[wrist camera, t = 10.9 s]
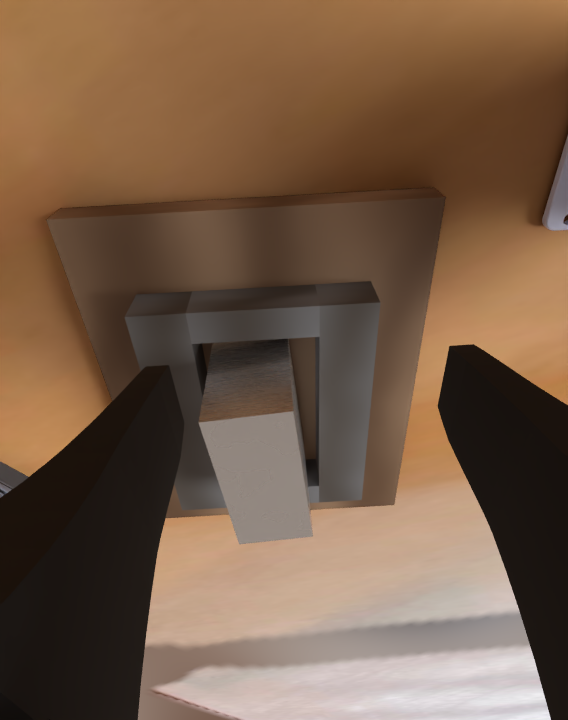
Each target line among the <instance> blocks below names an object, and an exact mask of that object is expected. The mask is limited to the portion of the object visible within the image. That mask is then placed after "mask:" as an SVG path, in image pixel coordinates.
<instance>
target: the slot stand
mask: <svg viewBox="0 0 568 720" xmlns="http://www.w3.org/2000/svg"><path fill="white" fill-rule="evenodd" d="M445 199H446V197H445V196H444V195H442V194H441V193H440V192H439V191H438V190H436V189H435V188H416V189H398V190H380V191H362V192H345V193H327V194H309V195H291V196H273V197H255V198H238V199H220V200H202V201H184V202H166V203H149V204H131V205H113V206H95V207H77V208H60V209H59V210H58V211H57V212H55V213H54V214H53V215H52V216H50V217H49V218H48V219H46V221H47V223H48V226H49V229H50V232H51V234H52V237H53V240H54V242H55V245H56V248H57V251H58V253H59V256H60V259H61V262H62V264H63V267H64V270H65V273H66V275H67V278H68V281H69V284H70V286H71V289H72V292H73V295H74V297H75V300H76V303H77V306H78V308H79V311H80V314H81V317H82V319H83V322H84V325H85V328H86V330H87V333H88V336H89V338H90V341H91V344H92V347H93V349H94V352H95V355H96V358H97V360H98V363H99V366H100V369H101V371H102V374H103V377H104V380H105V382H106V385H107V388H108V391H109V393H110V396H111V399H112V401H113V400H114V399H115V398H116V397H117V396H118V395H119V394H120V393H121V392H122V391H123V390H124V389H125V388H126V386H127V385H128V384H129V383H130V382H131V381H132V380H133V379H134V378H135V377H136V376H137V375H138V374H139V373H140V372H141V371H142V370H143V369H144V368H145V367H146V366H161V365H169V367H170V371H171V374H172V378H173V382H174V385H175V389H176V393H177V397H178V400H179V404H180V408H181V412H182V415H183V419H184V433H183V443H182V451H181V458H180V462H179V466H178V470H177V474H176V478H175V482H174V486H173V490H172V494H171V498H170V502H169V506H168V510H167V514H166V518H178V517H195V516H212V515H229V512H228V509H227V506H226V503H225V500H224V497H223V494H222V491H221V488H220V485H219V482H218V479H217V476H216V473H215V470H214V467H213V464H212V461H211V458H210V456H209V453H208V450H207V447H206V444H205V441H204V438H203V435H202V432H201V429H200V426H199V423H198V422H199V417H200V411H201V405H202V400H203V394H204V389H205V383H206V377H207V372H208V366H209V361H210V355H211V349H212V344H213V343H219V342H237V341H254V340H272V339H289V345H290V352H291V359H292V366H293V373H294V379H295V386H296V393H297V400H298V407H299V414H300V421H301V427H302V434H303V441H304V451H305V461H306V471H307V481H308V492H309V502H310V510H316V509H333V508H350V507H368V506H385V505H394V503H395V497H396V491H397V485H398V479H399V473H400V467H401V461H402V455H403V449H404V443H405V437H406V431H407V425H408V419H409V413H410V407H411V401H412V396H413V390H414V384H415V378H416V372H417V366H418V360H419V354H420V348H421V342H422V336H423V330H424V324H425V318H426V312H427V306H428V300H429V294H430V288H431V282H432V276H433V270H434V264H435V258H436V252H437V246H438V240H439V234H440V229H441V223H442V217H443V211H444V205H445Z"/></svg>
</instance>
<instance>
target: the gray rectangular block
mask: <svg viewBox="0 0 568 720" xmlns="http://www.w3.org/2000/svg"><path fill="white" fill-rule="evenodd" d="M198 423H199V426H200V429H201V432H202V435H203V438H204V441H205V444H206V447H207V450H208V453H209V456H210V458H211V461H212V464H213V467H214V470H215V473H216V476H217V479H218V482H219V485H220V488H221V491H222V494H223V497H224V500H225V503H226V506H227V509H228V512H229V515H230V518H231V521H232V524H233V527H234V530H235V533H236V536H237V539H238V542H239V544H246V543H256V542H265V541H275V540H284V539H293V538H303V537H312V536H313V532H312V522H311V512H310V502H309V492H308V481H307V471H306V461H305V451H304V441H303V434H302V427H301V421H300V414H299V407H298V400H297V393H296V386H295V379H294V373H293V366H292V359H291V352H290V345H289V339H272V340H254V341H237V342H219V343H213V344H212V349H211V355H210V361H209V366H208V372H207V377H206V383H205V389H204V394H203V400H202V405H201V411H200V417H199V422H198Z"/></svg>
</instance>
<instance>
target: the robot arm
mask: <svg viewBox="0 0 568 720" xmlns="http://www.w3.org/2000/svg"><path fill="white" fill-rule="evenodd" d="M566 215H568V136H567V139H566V142H565V146H564V149H563V152H562V156H561V159H560V162H559V166H558V169H557V172H556V176H555V179H554V182H553V185H552V189H551V192H550V195H549V199H548V202H547V205H546V209H545V212H544V215H543V220H542V223H543V225H544V226H545V227H546V228H548V229H549V230H553V231H556V230H568V220H567V221H565V222H563V219H564V218H565V216H566ZM438 409H439V412H440V415H441V419H442V422H443V425H444V428H445V431H446V434H447V437H448V440H449V442H450V444H451V446H452V449H453V451H454V453H455V455H456V457H457V459H458V461H459V463H460V465H461V468H462V470H463V472H464V474H465V476H466V478H467V480H468V482H469V484H470V486H471V488H472V490H473V492H474V494H475V496H476V498H477V500H478V502H479V504H480V506H481V509H482V511H483V513H484V515H485V517H486V519H487V522H488V524H489V526H490V528H491V531H492V533H493V536H494V539H495V541H496V544H497V547H498V550H499V552H500V555H501V558H502V561H503V563H504V566H505V569H506V572H507V575H508V578H509V581H510V584H511V587H512V590H513V593H514V596H515V599H516V602H517V605H518V608H519V611H520V614H521V617H522V620H523V624H524V627H525V630H526V633H527V637H528V640H529V643H530V646H531V650H532V653H533V656H534V659H535V663H536V666H537V670H538V674H539V677H540V681H541V684H542V688H543V692H544V695H545V699H546V702H547V706H548V710H549V713H550V717H551V720H568V405H566V404H565V403H563V402H561V401H560V400H558V399H557V398H555V397H553V396H552V395H550V394H548V393H547V392H545V391H544V390H542V389H541V388H539V387H538V386H536V385H534V384H533V383H531V382H530V381H528V380H527V379H525V378H524V377H522V376H521V375H519V374H518V373H516V372H515V371H513V370H512V369H510V368H509V367H508V366H506V365H505V364H503V363H502V362H500V361H499V360H497V359H496V358H494V357H493V356H491V355H490V354H488V353H487V352H485V351H484V350H482V349H480V348H479V347H477V346H475V345H474V344H473V345H458V346H449V351H448V356H447V361H446V367H445V372H444V377H443V382H442V387H441V392H440V397H439V402H438ZM183 433H184V419H183V415H182V412H181V408H180V404H179V400H178V397H177V393H176V389H175V385H174V382H173V378H172V374H171V371H170V367H169V365H161V366H146V367H145V368H144V369H143V370H142V371H141V372H140V373H139V374H138V375H137V376H136V377H135V378H134V379H133V380H132V381H131V382H130V383H129V384H128V385H127V386H126V388H125V389H124V390H123V391H122V392H121V393H120V394H119V395H118V396H117V397H116V398H115V399H114V400H113V401H112V402H111V403H110V404H109V405H108V406H107V407H106V409H105V410H104V411H103V412H102V413H101V414H100V415H99V416H98V417H97V418H96V419H95V420H94V421H93V422H92V423H91V424H89V425H88V426H87V427H86V428H85V429H84V430H83V431H82V432H81V433H80V434H79V435H78V436H77V437H76V438H75V439H73V440H72V441H71V442H70V443H69V444H68V445H67V446H66V447H65V448H64V449H63V450H61V451H60V452H59V453H58V454H57V455H56V456H54V457H53V458H52V459H51V460H50V461H49V462H47V463H46V464H45V465H44V466H42V467H41V468H40V469H38V470H37V471H36V472H35V473H33V474H32V475H31V476H30V477H28V478H27V479H26V480H24V481H23V482H22V483H20V484H19V485H18V486H16V487H15V488H13V489H12V490H11V491H9V492H8V493H6V494H5V495H3V496H2V497H1V498H0V720H138V709H139V697H140V686H141V675H142V667H143V658H144V649H145V639H146V631H147V623H148V615H149V608H150V600H151V592H152V585H153V579H154V572H155V565H156V558H157V552H158V547H159V543H160V538H161V533H162V529H163V526H164V522H165V518H166V514H167V510H168V506H169V502H170V498H171V494H172V490H173V486H174V482H175V478H176V474H177V470H178V466H179V462H180V458H181V451H182V443H183Z"/></svg>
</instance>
